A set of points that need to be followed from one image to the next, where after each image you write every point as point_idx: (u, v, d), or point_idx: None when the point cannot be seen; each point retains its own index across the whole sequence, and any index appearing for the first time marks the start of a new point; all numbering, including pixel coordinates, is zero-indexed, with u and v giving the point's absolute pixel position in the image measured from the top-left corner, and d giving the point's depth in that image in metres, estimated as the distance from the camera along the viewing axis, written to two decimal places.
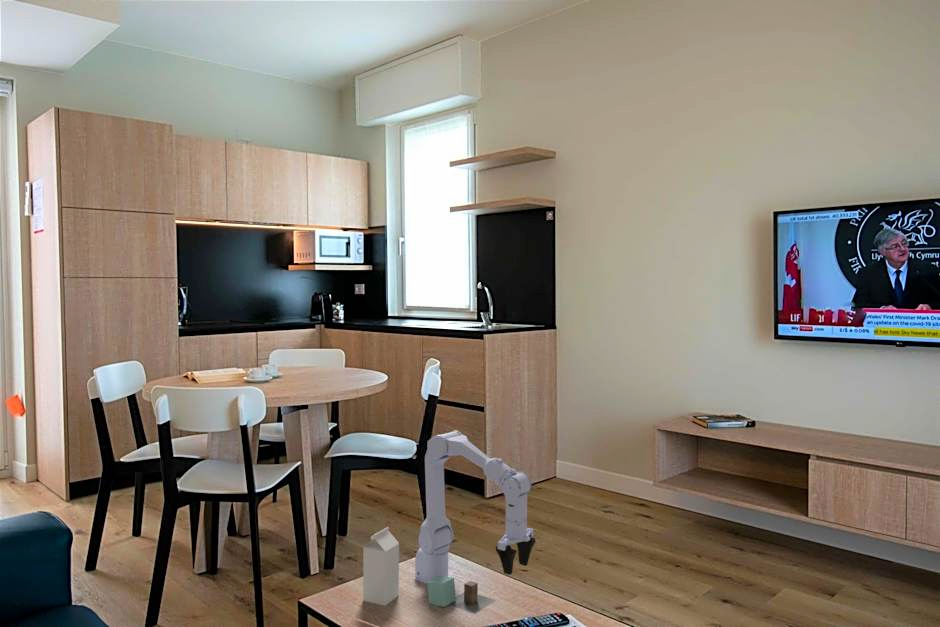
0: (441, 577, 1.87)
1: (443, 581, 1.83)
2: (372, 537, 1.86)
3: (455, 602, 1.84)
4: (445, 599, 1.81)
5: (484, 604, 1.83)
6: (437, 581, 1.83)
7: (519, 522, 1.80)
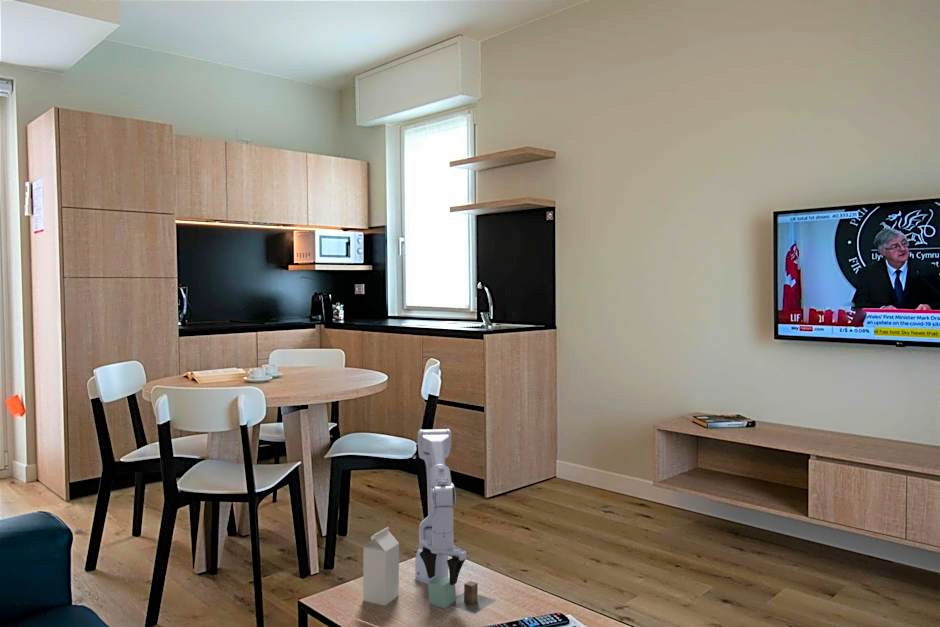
0: (442, 577, 1.86)
1: (444, 582, 1.82)
2: (372, 537, 1.86)
3: (455, 602, 1.84)
4: (445, 601, 1.81)
5: (484, 604, 1.83)
6: (437, 582, 1.83)
7: (432, 531, 1.83)
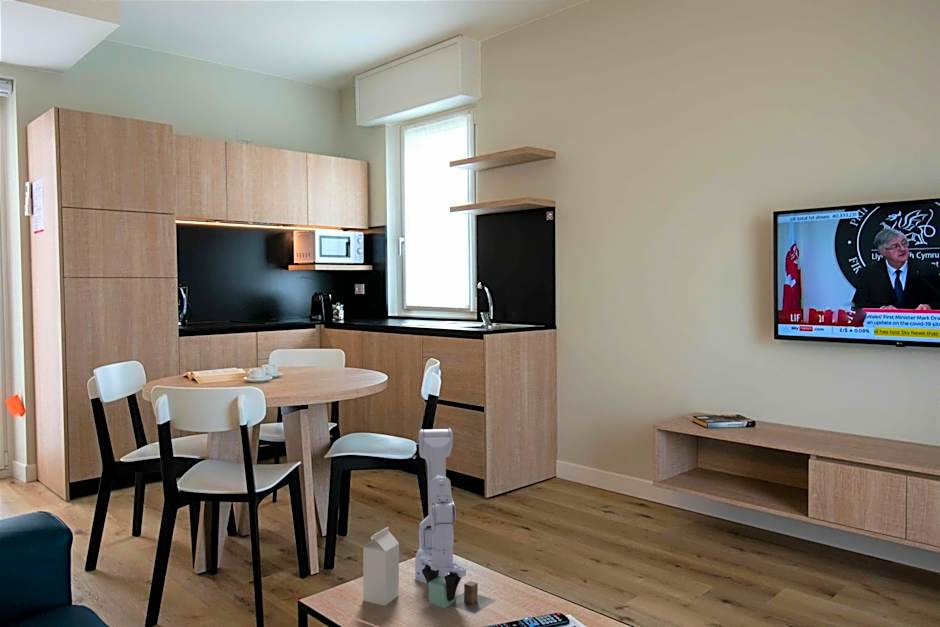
0: (442, 577, 1.86)
1: (444, 582, 1.82)
2: (372, 537, 1.86)
3: (455, 602, 1.84)
4: (445, 601, 1.81)
5: (484, 604, 1.83)
6: (438, 582, 1.83)
7: (432, 548, 1.83)
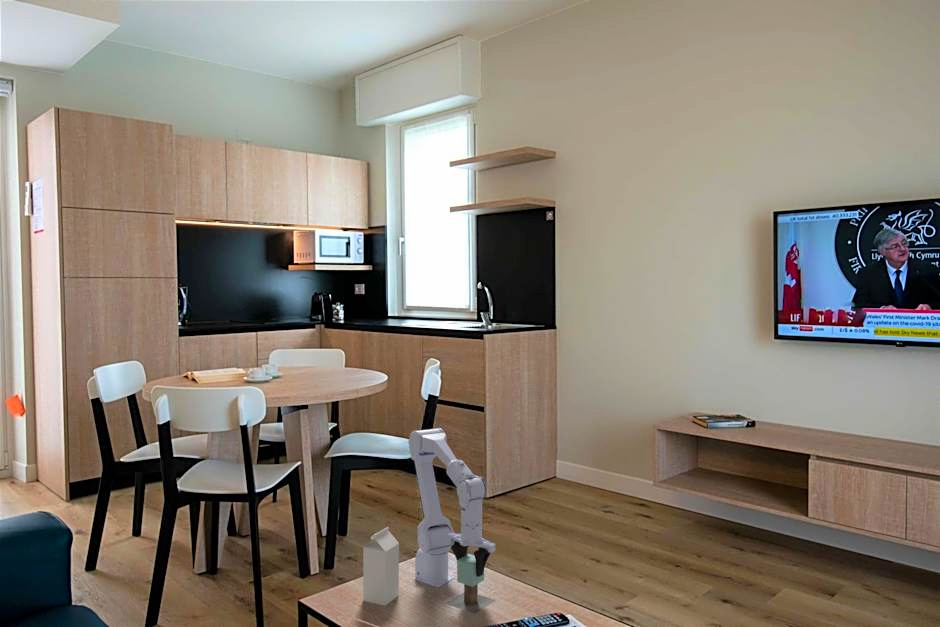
0: (471, 555, 1.86)
1: (473, 561, 1.82)
2: (372, 537, 1.86)
3: (455, 602, 1.84)
4: (473, 579, 1.81)
5: (484, 604, 1.83)
6: (467, 561, 1.83)
7: (461, 523, 1.84)
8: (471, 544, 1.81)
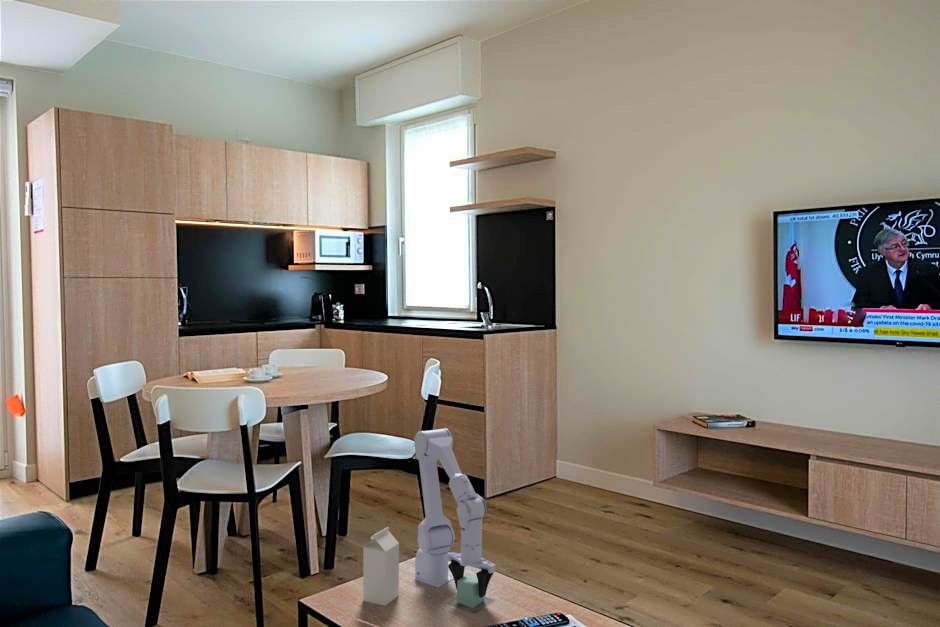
0: (471, 576, 1.87)
1: (473, 582, 1.83)
2: (372, 537, 1.86)
3: (455, 602, 1.84)
4: (473, 600, 1.81)
5: (484, 604, 1.83)
6: (467, 581, 1.83)
7: (461, 543, 1.84)
8: (471, 564, 1.81)
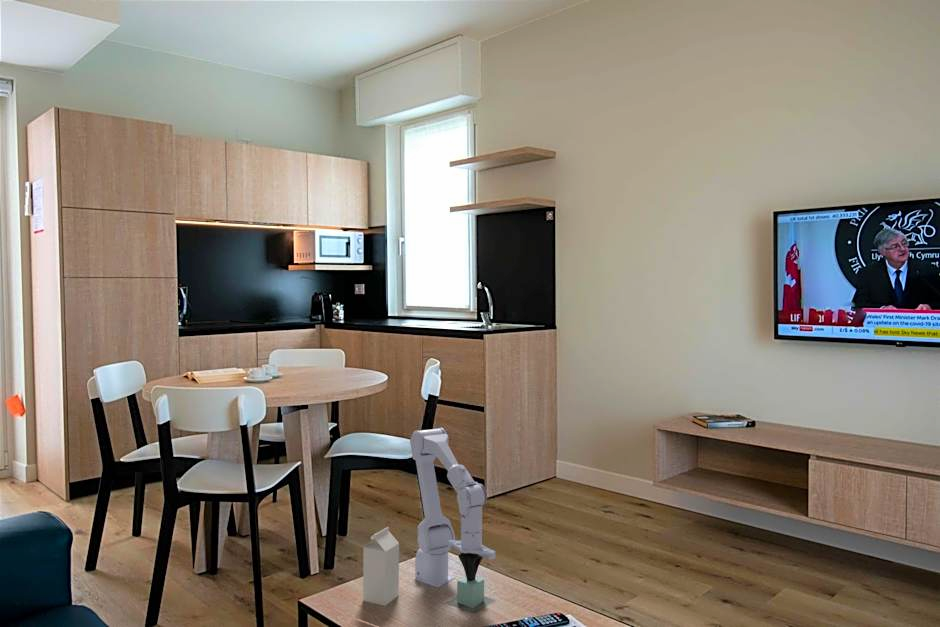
0: None
1: (473, 582, 1.83)
2: (372, 537, 1.86)
3: (455, 602, 1.84)
4: (473, 600, 1.81)
5: (484, 604, 1.83)
6: (467, 581, 1.83)
7: (461, 531, 1.84)
8: (471, 551, 1.81)
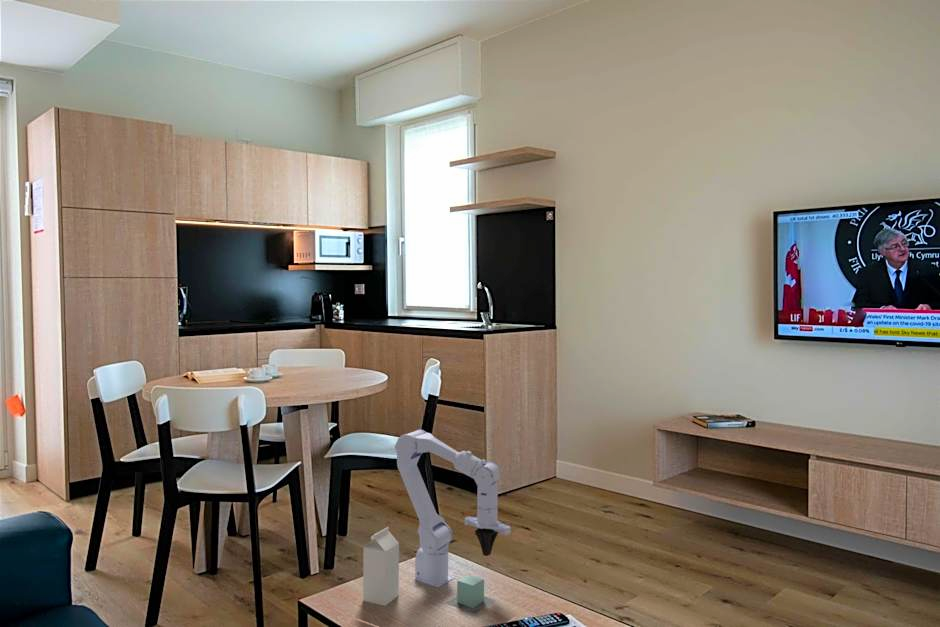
0: (471, 576, 1.87)
1: (473, 582, 1.83)
2: (372, 537, 1.86)
3: (455, 602, 1.84)
4: (473, 600, 1.81)
5: (484, 604, 1.83)
6: (467, 581, 1.83)
7: (477, 507, 1.91)
8: (487, 527, 1.89)
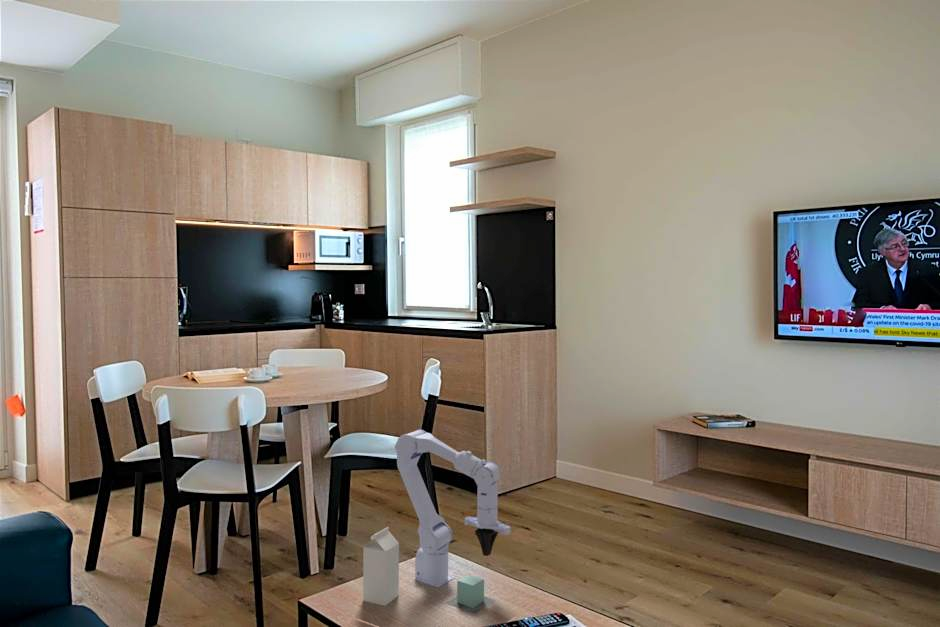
0: (471, 576, 1.87)
1: (473, 582, 1.83)
2: (372, 537, 1.86)
3: (455, 602, 1.84)
4: (473, 600, 1.81)
5: (484, 604, 1.83)
6: (467, 581, 1.83)
7: (477, 507, 1.91)
8: (487, 527, 1.89)
